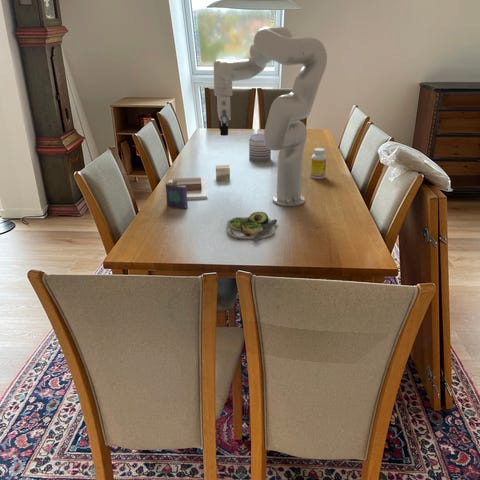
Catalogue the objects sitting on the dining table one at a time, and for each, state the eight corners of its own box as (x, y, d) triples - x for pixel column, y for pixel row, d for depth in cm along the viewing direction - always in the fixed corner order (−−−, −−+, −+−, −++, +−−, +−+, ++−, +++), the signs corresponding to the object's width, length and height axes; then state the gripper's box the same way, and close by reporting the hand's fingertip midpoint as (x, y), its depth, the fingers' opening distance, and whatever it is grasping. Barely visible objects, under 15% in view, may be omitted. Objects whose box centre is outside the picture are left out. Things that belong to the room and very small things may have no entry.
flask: (189, 207, 179) (187, 181, 174) (184, 210, 177) (183, 183, 172) (169, 203, 183) (167, 177, 178) (165, 206, 180) (162, 179, 176)
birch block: (230, 180, 208) (229, 167, 205) (216, 181, 207) (216, 168, 204) (229, 177, 212) (228, 164, 209) (216, 178, 211) (215, 165, 208)
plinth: (201, 190, 193) (201, 183, 191) (172, 191, 192) (172, 184, 190) (201, 184, 200) (200, 177, 198) (173, 185, 199) (172, 178, 197)
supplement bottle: (324, 179, 208) (326, 151, 202) (309, 178, 209) (311, 150, 203) (325, 175, 214) (327, 147, 208) (310, 174, 215) (312, 147, 209)
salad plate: (280, 245, 150) (280, 232, 148) (225, 245, 150) (224, 232, 148) (276, 221, 168) (276, 209, 166) (227, 221, 168) (226, 209, 166)
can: (271, 156, 242) (272, 133, 236) (270, 163, 231) (271, 139, 226) (249, 156, 243) (249, 133, 237) (247, 162, 233) (247, 138, 227)
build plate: (207, 198, 187) (207, 196, 187) (167, 200, 186) (167, 197, 185) (205, 181, 207) (205, 178, 206) (169, 182, 205) (168, 180, 205)
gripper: (233, 94, 185) (233, 137, 193) (230, 88, 201) (231, 127, 208) (214, 95, 185) (215, 137, 192) (213, 88, 200) (214, 128, 208)
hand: (223, 132), depth 200 cm, fingers open, 9 cm apart
